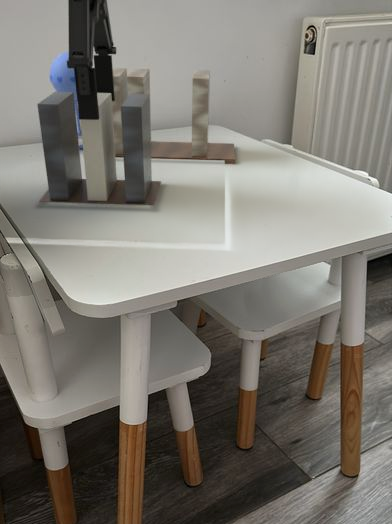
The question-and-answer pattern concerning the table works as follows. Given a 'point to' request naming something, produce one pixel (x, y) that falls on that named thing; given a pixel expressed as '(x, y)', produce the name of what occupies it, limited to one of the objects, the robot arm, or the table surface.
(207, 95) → the beige marbled rack
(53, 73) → the baby rattle
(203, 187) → the table surface
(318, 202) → the table surface
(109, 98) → the white book
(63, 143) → the grey rack
